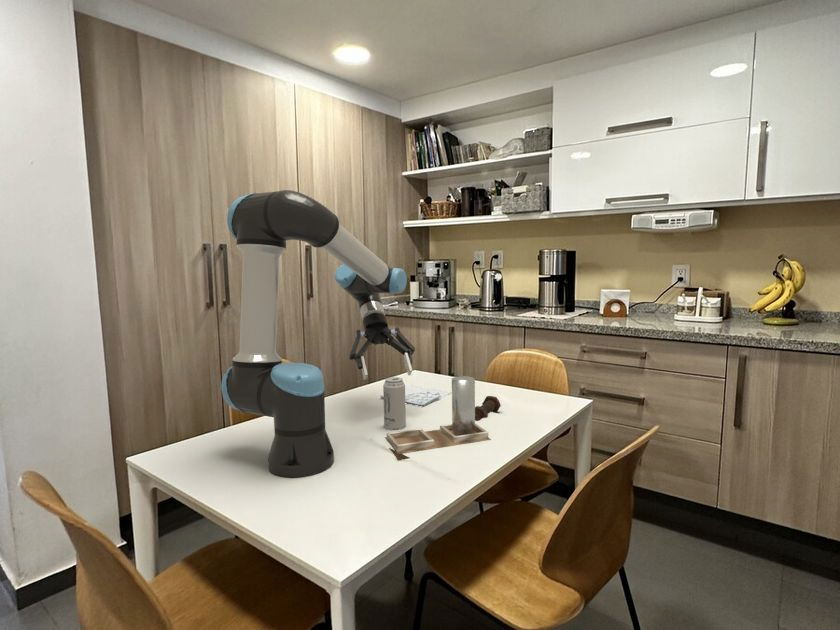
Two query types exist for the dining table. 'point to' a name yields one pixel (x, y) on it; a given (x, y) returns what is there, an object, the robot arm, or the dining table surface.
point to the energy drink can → (394, 404)
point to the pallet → (430, 439)
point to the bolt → (487, 407)
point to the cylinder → (463, 405)
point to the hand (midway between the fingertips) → (388, 375)
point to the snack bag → (421, 395)
